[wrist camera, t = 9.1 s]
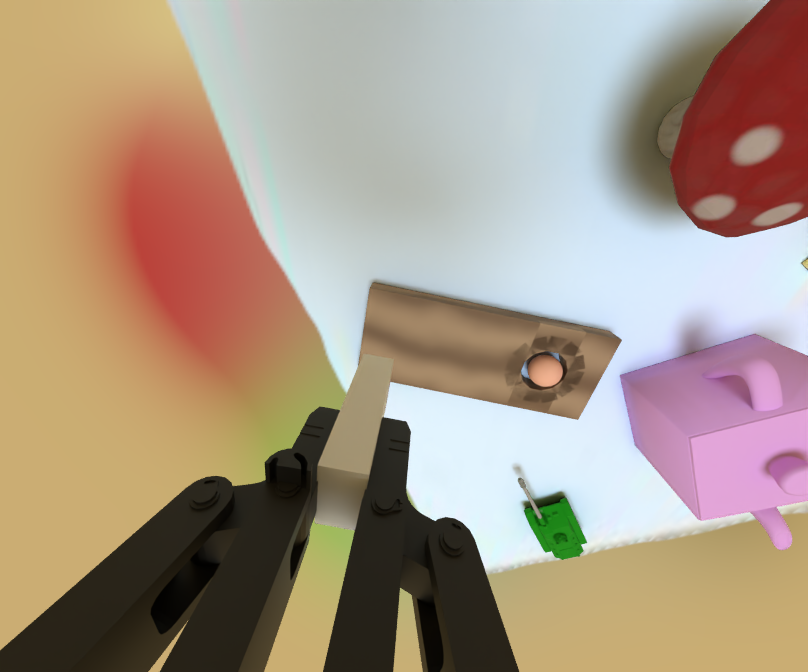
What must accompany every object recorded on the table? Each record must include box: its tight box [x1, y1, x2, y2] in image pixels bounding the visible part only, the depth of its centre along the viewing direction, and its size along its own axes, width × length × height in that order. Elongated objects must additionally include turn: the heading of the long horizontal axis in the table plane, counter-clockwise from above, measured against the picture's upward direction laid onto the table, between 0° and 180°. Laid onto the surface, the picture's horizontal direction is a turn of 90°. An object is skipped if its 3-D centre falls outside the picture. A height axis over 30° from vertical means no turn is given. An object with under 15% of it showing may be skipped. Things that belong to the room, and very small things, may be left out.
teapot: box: [620, 334, 808, 550], centre depth 34 cm, size 15×25×14 cm, turn 25°
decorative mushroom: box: [657, 0, 808, 237], centre depth 22 cm, size 16×16×15 cm
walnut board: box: [358, 283, 622, 420], centre depth 39 cm, size 12×30×2 cm, turn 79°
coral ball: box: [528, 355, 563, 387], centre depth 38 cm, size 4×4×4 cm
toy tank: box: [518, 478, 587, 560], centre depth 48 cm, size 7×19×5 cm, turn 29°
